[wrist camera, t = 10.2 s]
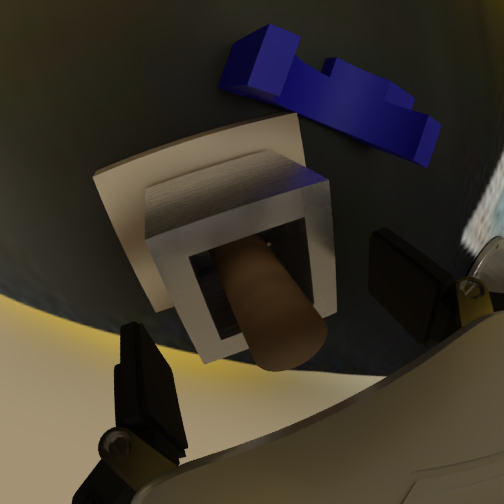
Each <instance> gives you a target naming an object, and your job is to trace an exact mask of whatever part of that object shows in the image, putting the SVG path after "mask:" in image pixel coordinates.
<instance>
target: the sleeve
mask: <svg viewBox="0 0 504 504" xmlns="http://www.w3.org/2000/svg"><path fill="white" fill-rule="evenodd" d="M264 230H266V232H267V237H268V242H269V246H268V247H269V248H270V249H271V251H272V252H273V253H274V255H275V256H276V257H277V259H278V260H279V261H280V263H281V264H282V265H283V267H284V268H285V269H286V270H287V272H288V273H289V274H290V276H291V277H292V278H293V280H294V281H295V282H296V284H297V285H298V286H299V288H300V289H301V290H302V292H303V293H304V294H305V296H306V297H307V298H308V300H309V301H310V302H311V304H312V305H313V306H314V308H315V309H316V310H317V312H318V313H319V314H320V316H321V317H322V318H325V317H327V316H329V315H331V314H334V313H336V312H337V297H336V269H335V250H334V234H333V220H332V208H331V196H330V186H329V179H327V178H325V177H323V176H321V175H319V174H318V173H316V172H314V171H312V170H310V169H308V168H306V167H304V166H303V165H301V164H299V163H297V162H295V161H293V160H291V159H289V158H287V157H285V156H283V155H281V154H279V153H277V152H275V151H273V150H267V151H264V152H260V153H256V154H253V155H249V156H245V157H242V158H238V159H235V160H231V161H228V162H225V163H221V164H218V165H215V166H212V167H208V168H205V169H202V170H199V171H196V172H193V173H190V174H186V175H183V176H180V177H177V178H175V179H172V180H169V181H166V182H163V183H160V184H157V185H154V186H152V187H149V188H146V189H145V242H146V244H147V246H148V249H149V251H150V253H151V256H152V258H153V260H154V263H155V265H156V267H157V269H158V272H159V274H160V276H161V278H162V281H163V283H164V285H165V287H166V289H167V291H168V293H169V296H170V298H171V300H172V302H173V304H174V306H175V308H176V310H177V312H178V314H179V316H180V318H181V320H182V322H183V324H184V326H185V328H186V330H187V332H188V334H189V336H190V338H191V340H192V342H193V344H194V346H195V348H196V350H197V352H198V354H199V356H200V357H201V359H202V361H203V363H204V364H207V363H210V362H212V361H216V360H218V359H221V358H224V357H227V356H230V355H232V354H235V353H238V352H241V351H243V350H246V349H249V347H248V345H247V343H246V340H245V338H244V336H243V333H242V331H241V329H240V326H239V324H238V322H237V319H236V317H235V315H234V312H233V310H232V308H231V305H230V303H229V300H228V298H227V296H226V293H225V291H224V289H223V286H222V284H221V281H220V279H219V276H218V274H217V271H216V269H215V267H214V265H212V266H209V267H206V268H204V269H201V270H198V269H197V266H196V264H195V261H194V258H193V255H195V254H198V253H201V252H203V251H206V250H209V249H212V248H215V247H218V246H221V245H223V244H226V243H229V242H232V241H235V240H238V239H241V238H244V237H247V236H250V235H252V234H255V233H258V232H261V231H264Z"/></svg>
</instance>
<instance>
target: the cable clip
mask: <svg viewBox="0 0 504 504" xmlns="http://www.w3.org/2000/svg"><path fill="white" fill-rule="evenodd" d="M300 38H301V37H300V36H298V35H295V34H293V33H291V32H289V31H286V30H284V29H282V28H279V27H277V26H274V25H272V24H268V25H266V26H264V27H262V28H260V29H258V30H256V31H255V32H253V33H251V34H249V35H247V36H246V37H244V38H242V39H240V40H239V41H237V42H235V43H234V44H233V46H232V49H231V52H230V54H229V57H228V60H227V63H226V65H225V68H224V71H223V74H222V77H221V80H220V83H219V86H218V89H222V90H225V91H229V92H232V93H235V94H239V95H242V96H245V97H248V98H251V99H254V100H257V101H260V102H263V103H266V104H269V105H272V106H275V107H277V108H280V109H283V110H286V111H291V112H296V113H297V115H299V116H301V117H304V118H306V119H309V120H311V121H314V122H316V123H319V124H321V125H324V126H326V127H328V128H331V129H333V130H335V131H337V132H340V133H342V134H344V135H346V136H349V137H351V138H353V139H355V140H357V141H359V142H362V143H364V144H366V145H368V146H370V147H372V148H375V149H378V150H381V151H384V152H386V153H389V154H392V155H395V156H397V157H400V158H403V159H405V160H408V161H410V162H413V163H415V164H418V165H420V166H423V167H425V168H427V167H428V164H429V162H430V159H431V156H432V153H433V150H434V147H435V144H436V141H437V138H438V135H439V132H440V129H441V126H442V125H441V124H439V123H438V122H437V121H436V120H434V119H433V118H432V117H431V116H429V115H427V114H423V113H419V112H416V111H413V110H412V107H413V103H414V100H415V98H414V97H412V96H411V95H410V94H408V93H407V92H405V91H404V90H403V89H401V88H400V87H398V86H397V85H396V84H394V83H393V82H391V81H389V80H387V79H384V78H381V77H379V76H376V75H374V74H371V73H369V72H367V71H364V70H362V69H360V68H358V67H355V66H353V65H351V64H349V63H347V62H345V61H343V60H341V59H339V58H337V57H335V58H326V60H325V63H324V66H323V69H322V72H319V71H317V70H315V69H314V68H312V67H310V66H309V65H307V64H306V63H304V62H303V61H302V60H300V59H299V58H298V57H297V56H296V55H295V52H296V49H297V47H298V44H299V41H300Z"/></svg>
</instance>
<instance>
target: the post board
mask: <svg viewBox="0 0 504 504" xmlns="http://www.w3.org/2000/svg"><path fill="white" fill-rule="evenodd" d="M267 150H273V151H275V152H277V153H279V154H281V155H283V156H285V157H287V158H289V159H291V160H293V161H295V162H297V163H299V164H301V165H303V166H304V167H306V165H305V158H304V152H303V146H302V140H301V134H300V128H299V122H298V116H297V113H296V112H291V111H283V112H278V113H274V114H269V115H265V116H261V117H257V118H253V119H249V120H245V121H241V122H237V123H233V124H229V125H226V126H222V127H219V128H215V129H212V130H208V131H205V132H202V133H198V134H195V135H192V136H189V137H185V138H182V139H179V140H176V141H173V142H170V143H167V144H164V145H162V146H159V147H156V148H153V149H150V150H148V151H145V152H142V153H139V154H137V155H134V156H131V157H129V158H126V159H124V160H121V161H119V162H116V163H114V164H111V165H109V166H106V167H104V168H102V169H99V170H97V171H96V173H95V174H94V176H93V179H94V182H95V184H96V187H97V189H98V192H99V194H100V197H101V199H102V201H103V204H104V206H105V209H106V211H107V213H108V216H109V218H110V220H111V222H112V225H113V227H114V229H115V231H116V234H117V236H118V238H119V240H120V242H121V244H122V247H123V249H124V251H125V253H126V255H127V257H128V259H129V261H130V263H131V265H132V267H133V269H134V271H135V273H136V275H137V277H138V279H139V281H140V283H141V285H142V287H143V289H144V291H145V293H146V295H147V297H148V298H149V300H150V302H151V304H152V306H153V308H154V310H155V311H156V313H157V312H159V311H162V310H165V309H168V308H171V307H174V304H173V302H172V300H171V298H170V296H169V293H168V291H167V289H166V287H165V285H164V283H163V281H162V278H161V276H160V274H159V272H158V269H157V267H156V265H155V263H154V260H153V258H152V256H151V253H150V251H149V249H148V246H147V244H146V242H145V189H146V188H149V187H152V186H154V185H157V184H160V183H163V182H166V181H169V180H172V179H175V178H177V177H180V176H183V175H186V174H190V173H193V172H196V171H199V170H202V169H205V168H208V167H212V166H215V165H218V164H221V163H225V162H228V161H231V160H235V159H238V158H242V157H245V156H249V155H253V154H256V153H260V152H264V151H267ZM268 246H269V242H268V237H267V232H266V230H264V231H261V232H258V233H255V234H252V235H250V236H247V237H244V238H241V239H238V240H235V241H232V242H229V243H226V244H223V245H221V246H218V247H215V248H212V249H209V250H206V251H203V252H201V253H198V254H195V255H193V258H194V261H195V264H196V266H197V269H198V270H201V269H204V268H206V267H209V266H212V265H214V267H215V269H216V271H217V274H218V276H219V279H220V281H221V284H222V286H223V289H224V291H225V293H226V296H227V298H228V300H229V303H230V305H231V308H232V310H233V312H234V315H235V317H236V319H237V322H238V324H239V326H240V329H241V331H242V333H243V336H244V338H245V340H246V343H247V345H248V347H249V349H250V352H251V354H252V356H253V358H254V361H255V363H256V364H257V365H258V366H259V367H260V368H262V369H264V370H267V371H273V372H275V371H284V370H289V369H292V368H295V367H297V366H299V365H301V364H303V363H304V362H306V361H307V360H309V359H310V358H311V357H313V356H314V355H315V354H316V353H317V352H318V351H319V349H320V348H321V347H322V345H323V344H324V342H325V340H326V337H327V325H326V322H325V321H324V320H323V318H322V317H321V316H320V314H319V313H318V312H317V310H316V309H315V308H314V306H313V305H312V304H311V302H310V301H309V300H308V298H307V297H306V296H305V294H304V293H303V292H302V290H301V289H300V288H299V286H298V285H297V284H296V282H295V281H294V280H293V278H292V277H291V276H290V274H289V273H288V272H287V270H286V269H285V268H284V267H283V265H282V264H281V263H280V261H279V260H278V259H277V257H276V256H275V255H274V253H273V252H272V251H271V249H270V248H269V247H268Z"/></svg>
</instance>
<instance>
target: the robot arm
mask: <svg viewBox="0 0 504 504" xmlns="http://www.w3.org/2000/svg"><path fill="white" fill-rule="evenodd" d="M368 288H369V291H370V293H371V294H372V296H373V297H374V298H375V299H376V300H377V301H378V302H379V303H380V304H381V305H382V306H383V307H384V308H385V309H386V310H387V311H388V312H389V313H390V314H391V315H392V316H393V317H394V318H395V319H396V320H397V321H398V322H399V323H400V324H401V325H402V326H403V327H404V329H405V330H406V331H407V332H408V333H409V334H410V335H411V336H412V337H413V338H414V339H415V340H416V341H417V342H418V343H420V344H421V343H422V344H423V345H424V346H425V347H426V348H427V347H429V346H430V345H432V344H433V343H435V342H436V341H437V342H438V343H439V344H438V345H436V346H435V347H433V348H432V349H430V350H429V351H427V352H426V353H424V354H423V355H421V356H420V357H418V358H417V359H415V360H413V361H412V362H410V363H409V364H407V365H406V366H404V367H402V368H401V369H399V370H397V371H396V372H394V373H392V374H391V375H389V376H387V377H386V378H384V379H382V380H381V381H379V382H377V383H375V384H374V385H372V386H370V387H368V388H366V389H365V390H363V391H361V392H359V393H357V394H355V395H353V396H352V397H349V398H348V399H346V400H344V401H342V402H340V403H338V404H336V405H334V406H332V407H330V408H328V409H325V410H323V411H321V412H319V413H317V414H315V415H313V416H310V417H309V418H306V419H304V420H301V421H299V422H297V423H295V424H292V425H290V426H287V427H285V428H283V429H280V430H278V431H275V432H273V433H270V434H268V435H265V436H263V437H260V438H257V439H254V440H251V441H249V442H246V443H244V444H240V445H238V446H235V447H232V448H229V449H226V450H223V451H220V452H217V453H214V454H211V455H208V456H205V457H202V458H199V459H196V460H193V461H190V462H187V463H185V464H182V465H180V466H179V464H180V462H179V458H183V457H186V454H185V450H184V449H187V448H188V443H187V439H186V435H185V431H184V426H183V422H182V417H181V412H180V408H179V403H178V398H177V393H176V388H175V383H174V377H173V373H172V370H171V368H170V366H169V364H168V363H167V361H166V360H165V359H164V357H163V355H162V354H161V353H160V351H159V349H158V348H157V346H156V345H155V343H154V342H153V340H152V338H151V337H150V335H149V334H148V332H147V330H146V329H145V327H144V326H143V324H142V323H140V324H137V322H135V321H134V322H131V323H128V324H125V325H122V326H121V329H120V364H117V365H115V367H114V399H115V421H116V427H113V428H111V429H109V430H108V431H106V432H105V433H104V434H103V436H102V437H101V438H100V441H99V444H98V451H99V455H100V457H101V458H102V459H101V460H100V461H99V463H98V464H97V465H96V467H95V468H94V469H93V471H92V472H91V473H90V474H89V476H88V477H87V478H86V480H85V481H84V482H83V484H82V485H81V486H80V487H79V489H78V490H77V491H76V493H75V494H74V496H73V500H72V504H504V238H503V237H496V238H495V239H493V240H492V241H491V242H490V243H488V245H487V246H486V247H485V248H484V249H483V251H482V252H481V253H480V255H479V256H478V258H477V259H476V261H475V263H474V264H473V266H472V268H471V270H470V272H469V274H468V276H467V277H463V278H461V279H459V280H458V282H457V283H455V282H454V277H453V276H452V275H450V274H449V273H448V272H447V271H445V270H444V269H443V268H441V267H440V266H439V265H437V264H436V263H435V262H433V261H432V260H431V259H429V258H428V257H427V256H425V255H424V254H423V253H421V252H420V251H419V250H417V249H416V248H415V247H413V246H412V245H410V244H409V243H408V242H406V241H405V240H403V239H402V238H401V237H399V236H398V235H396V234H395V233H393V232H392V231H391V230H389V229H388V228H386V227H384V228H381V229H379V230H376V231H374V232H372V236H371V237H370V238H369V280H368Z"/></svg>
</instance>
